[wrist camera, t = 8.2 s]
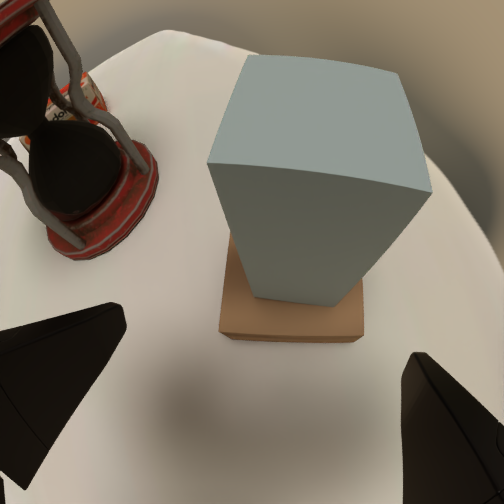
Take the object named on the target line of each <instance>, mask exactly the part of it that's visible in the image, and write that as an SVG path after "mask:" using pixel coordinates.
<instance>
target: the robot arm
mask: <svg viewBox="0 0 504 504" xmlns="http://www.w3.org/2000/svg"><path fill="white" fill-rule="evenodd" d="M126 328H127V324H126V320H125V316H124V311H123V307H122V306H121V305H120V304H117V303H114V302H109V303H105V304H101V305H98V306H94V307H90V308H87V309H83V310H79V311H75V312H72V313H68V314H64V315H61V316H57V317H53V318H49V319H45V320H42V321H38V322H34V323H30V324H27V325H23V326H19V327H15V328H11V329H7V330H3V331H0V471H2V472H3V473H4V474H5V475H6V476H8V477H9V478H10V479H11V480H12V481H14V482H15V483H16V484H17V485H18V486H20V487H21V488H22V489H23V490H26V489H27V488H28V486H29V485H30V483H31V481H32V479H33V478H34V476H35V474H36V472H37V471H38V469H39V467H40V466H41V464H42V462H43V461H44V459H45V457H46V456H47V454H48V452H49V450H50V449H51V447H52V446H53V444H54V442H55V441H56V439H57V438H58V436H59V434H60V433H61V431H62V430H63V428H64V427H65V425H66V424H67V422H68V420H69V419H70V417H71V416H72V414H73V413H74V411H75V410H76V408H77V407H78V405H79V404H80V402H81V401H82V399H83V398H84V396H85V395H86V394H87V392H88V391H89V389H90V388H91V386H92V385H93V383H94V382H95V380H96V379H97V378H98V376H99V375H100V373H101V372H102V371H103V369H104V368H105V366H106V365H107V363H108V361H109V360H110V358H111V356H112V354H113V353H114V351H115V349H116V347H117V346H118V344H119V342H120V340H121V339H122V337H123V335H124V334H125V332H126ZM401 436H402V454H403V504H504V426H503V425H502V424H501V423H500V422H498V420H497V419H496V418H495V417H494V416H493V415H492V414H491V413H490V412H489V411H488V410H487V409H486V408H485V407H484V406H483V405H482V404H481V403H480V402H479V401H478V400H477V399H476V398H475V397H473V396H472V395H471V394H470V393H469V392H468V391H467V390H466V389H465V388H464V387H463V386H462V385H461V384H460V383H459V382H458V381H456V380H455V379H454V378H453V377H452V376H451V375H450V374H449V373H448V372H447V371H446V370H444V369H443V368H442V367H441V366H440V365H439V364H438V363H437V362H436V361H435V360H433V359H432V358H431V357H430V356H429V355H428V354H427V353H425V352H413V353H412V354H411V355H410V358H409V360H408V362H407V365H406V367H405V369H404V371H403V374H402V378H401ZM0 504H5V494H4V481H3V479H2V477H1V476H0Z"/></svg>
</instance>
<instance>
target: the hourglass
mask: <svg viewBox="0 0 504 504" xmlns="http://www.w3.org/2000/svg"><path fill="white" fill-rule="evenodd" d="M39 16H40V18H41V19H42V21H43V23H44V25H45V27H46V28H47V30H48V32H49V33H50V35H51V37H52V39H53V40H54V42H55V44H56V46H57V47H58V49H59V51H60V52H61V54H62V56H63V57H64V59H65V61H66V62H67V64H68V66H69V74H70V83H69V87H68V95H69V98H70V101H71V102H70V101H68V100H67V99H66V98H65V97H64V96H63V95H62V94H61V92H60V90H59V89H58V87H57V85H56V83H55V76H54V71H53V68H54V67H53V66H54V65H53V50H52V48H51V45H50V43H49V40H48V38H47V36H46V34H45V33H44V31H43V29H42V28H41V27H39V26H38V25H31V24H32V23H33V22H34V21H35V20H36V19H37V18H38V17H39ZM29 25H30V26H29ZM82 72H83V70H82V64H81V58H80V56H79V54H78V52H77V51H76V49H75V47H74V45H73V44H72V42H71V40H70V38H69V37H68V35H67V33H66V31H65V29H64V28H63V26H62V24H61V22H60V20H59V19H58V17H57V15H56V13H55V11H54V9H53V8H52V6H51V4H50V2H49V0H5V1H4V2H2V3H1V4H0V154H1V155H2V156H0V169H1V170H3V171H4V172H6V173H7V174H9V175H10V176H12V178H13V179H14V180H15V182H16V183H17V184H18V185H19V187H20V188H21V190H22V193H23V197H24V200H25V203H26V205H27V206H28V208H29V209H30V211H31V212H32V214H33V215H34V216H35V217H37V218H38V219H39V220H40V221H42V222H43V223H44V224H45V225H46V229H47V236H48V240H49V242H50V243H51V245H52V246H53V248H54V249H55V250H56V251H57V252H59V253H60V254H62V255H64V256H66V257H68V258H70V259H73V260H83V259H91V258H93V257H95V256H98V255H100V254H102V253H104V252H106V251H108V250H110V249H111V248H112V247H113V246H115V245H116V244H117V243H118V242H120V241H121V240H122V239H123V238H125V237H126V236H127V235H128V234H129V232H130V231H131V230H132V229H133V228H134V226H135V225H136V224H137V223H138V222H139V220H140V219H141V218H142V217H143V215H144V213H145V211H146V209H147V208H148V206H149V204H150V202H151V200H152V198H153V197H154V193H155V189H156V185H157V181H158V169H157V162H156V160H155V159H154V157H153V155H152V154H151V152H150V151H149V150H148V148H147V147H146V145H145V144H142V143H140V142H138V141H135V140H131V139H130V137H129V136H128V134H127V133H126V131H125V130H124V128H123V126H122V125H121V123H120V122H119V120H118V119H117V118H115V117H114V116H113V115H111V114H110V113H109V112H106V111H104V110H101V109H98V108H95V107H94V106H93V105H92V104H91V103H90V102H89V101H88V100H87V99H86V98H85V96H84V93H83V91H82V88H81V85H80V83H81V78H82ZM48 98H50V100H51V102H52V103H53V104H54V105H56V106H57V107H58V108H59V109H60V110H65V111H68V112H69V113H71V114H72V115H73V116H74V117H75V118H76V120H53V121H49V120H48V119H47V118H46V116H45V114H46V109H47V104H48ZM88 119H90V120H93V121H97V122H99V123H101V124H102V125H104V126H105V127H107V128H108V129H110V131H111V132H112V133H113V135H114V136H115V138H116V139H117V141H115V142H114V140H113V139H112V137H111V136H110V135H109V134H108V133H107V132H106V131H105V130H104V129H103V128H101V127H99V126H97V125H94V124H92V123H90V121H89V120H88ZM19 136H27V137H28V138H29V139H30V150H29V174H28V172H27V171H26V169H25V168H24V166H23V164H22V163H21V162H19V161H17V155H16V154H15V152H14V150H13V148H12V147H11V145H9V144H8V143H6V142H5V141H4V140H2V139H3V138H11V137H19Z"/></svg>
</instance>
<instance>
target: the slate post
mask: <svg viewBox="0 0 504 504" xmlns="http://www.w3.org/2000/svg"><path fill="white" fill-rule="evenodd" d="M207 165H208V168H209V171H210V174H211V177H212V180H213V182H214V185H215V188H216V191H217V194H218V197H219V200H220V203H221V206H222V209H223V211H224V214H225V217H226V220H227V223H228V226H229V229H230V231H231V234H232V237H233V240H234V243H235V246H236V249H237V251H238V254H239V257H240V260H241V263H242V265H243V268H244V271H245V274H246V277H247V279H248V282H249V285H250V288H251V291H252V293H253V296H254V297H258V298H265V299H272V300H279V301H287V302H294V303H302V304H310V305H318V306H327V307H335V306H336V305H337V304H338V303H339V302H340V300H341V299H342V298H343V297H344V296H345V295H346V294H347V293H348V292H349V291H350V290H351V289H352V288H353V287H354V286H355V285H356V284H357V283H358V282H359V281H360V279H361V278H362V277H363V276H364V275H365V274H366V273H367V272H368V271H369V270H370V268H371V267H372V266H373V265H374V264H375V263H376V262H377V261H378V260H379V258H380V257H381V256H382V255H383V254H384V253H385V251H386V250H387V249H388V248H389V247H390V246H391V244H392V243H393V242H394V241H395V240H396V239H397V237H398V236H399V235H400V234H401V233H402V231H403V230H404V229H405V228H406V226H407V225H408V224H409V223H410V221H411V220H412V219H413V218H414V216H415V215H416V214H417V213H418V211H419V210H420V209H421V207H422V206H423V205H424V204H425V202H426V201H427V200H428V198H429V197H430V196H431V194H432V193H433V192H432V187H431V182H430V177H429V173H428V168H427V164H426V160H425V156H424V152H423V148H422V145H421V141H420V137H419V134H418V131H417V127H416V124H415V121H414V118H413V115H412V112H411V109H410V106H409V103H408V100H407V98H406V95H405V92H404V90H403V87H402V84H401V82H400V79H399V77H398V74H397V73H393V72H389V71H385V70H381V69H376V68H372V67H367V66H362V65H357V64H351V63H345V62H339V61H332V60H325V59H316V58H306V57H295V56H278V55H248V56H247V59H246V61H245V63H244V66H243V68H242V71H241V73H240V75H239V78H238V80H237V83H236V85H235V88H234V90H233V93H232V95H231V98H230V100H229V103H228V105H227V108H226V111H225V113H224V116H223V118H222V121H221V124H220V127H219V129H218V132H217V135H216V138H215V140H214V143H213V146H212V149H211V152H210V155H209V158H208V160H207Z"/></svg>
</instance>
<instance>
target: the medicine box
mask: <svg viewBox="0 0 504 504" xmlns="http://www.w3.org/2000/svg"><path fill="white" fill-rule="evenodd" d="M80 85H81V88H82V91H83V93H84V96H85V98H86V99H87V100H88V101H89V102H90V103H91V104H92V105H93V106H94V107H95V108H98V109H101V110H104V111H106V112H107V109H106V105H105V102H104V99H103V96H102V94H101V92H100V91H99V89H98V87H97V86H96V84H95V83H94V81H93V80H92V78H91V77H90V76H89V74H88V73H87V72H84V73H83V74H82V78H81V83H80ZM68 87H69V84H67V85H66V86H65V87H63V88H62V89H61V90H60V92H61V94H62V95H63V96H64V97H65V98H66V99H67V100H68V101H70V98H69V95H68ZM70 102H71V101H70ZM45 116H46V118H47V119H48V120H49V121H53V120H76V118H75V117H74V116H73V115H72V114H71V113H69V112H68V111H65V110H60V109H59V108H58V107H57V106H56V105H54V104H53V103H52V102H51V100H50V98H49V99H48V104H47V109H46V114H45ZM88 120H89V121H90V123H92V124H94V125H97V124H98V123H99V122H97V121H93V120H90V119H88ZM19 140H20V142H21V144H22V145H23V146H24V148H25V149H26V150H27V151H28V153H29V150H30V139H29V138H28V137H27V136H20V137H19Z"/></svg>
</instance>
